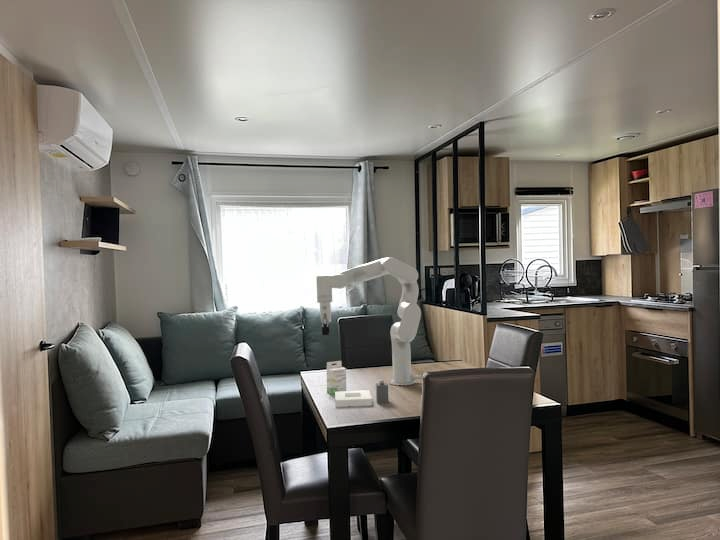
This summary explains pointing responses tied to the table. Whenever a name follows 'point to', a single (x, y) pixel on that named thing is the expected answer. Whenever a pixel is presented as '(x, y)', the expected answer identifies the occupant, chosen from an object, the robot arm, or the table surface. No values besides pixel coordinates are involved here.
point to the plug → (382, 392)
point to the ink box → (336, 377)
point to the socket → (353, 398)
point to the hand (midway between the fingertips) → (326, 333)
